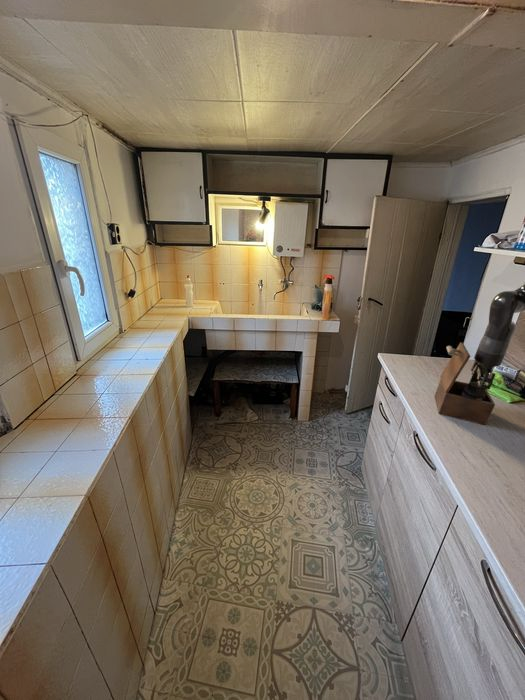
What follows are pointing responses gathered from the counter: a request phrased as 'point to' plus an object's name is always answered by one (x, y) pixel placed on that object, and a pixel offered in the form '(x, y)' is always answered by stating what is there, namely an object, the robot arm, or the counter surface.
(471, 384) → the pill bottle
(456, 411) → the bin
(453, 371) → the bin lid
